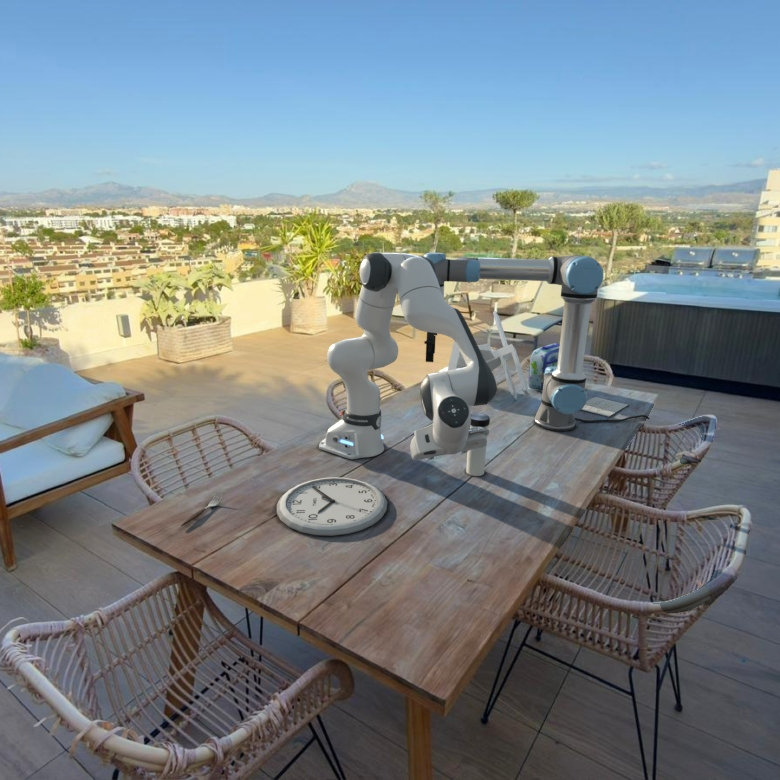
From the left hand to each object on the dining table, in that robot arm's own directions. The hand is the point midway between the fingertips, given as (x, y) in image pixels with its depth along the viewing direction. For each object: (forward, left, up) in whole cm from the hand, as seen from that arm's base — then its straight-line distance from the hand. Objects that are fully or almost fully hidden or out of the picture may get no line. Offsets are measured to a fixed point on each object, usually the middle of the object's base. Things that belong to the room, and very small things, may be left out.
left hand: (447, 453), depth 144 cm
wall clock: (-26, -18, -14) cm, 35 cm away
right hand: (-23, +47, +14) cm, 54 cm away
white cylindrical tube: (+3, +20, -14) cm, 24 cm away
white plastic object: (-17, +102, -14) cm, 104 cm away
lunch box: (+11, +124, -14) cm, 125 cm away
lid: (+3, +20, +5) cm, 20 cm away
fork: (-55, -36, -14) cm, 67 cm away
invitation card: (+35, +106, -14) cm, 112 cm away
